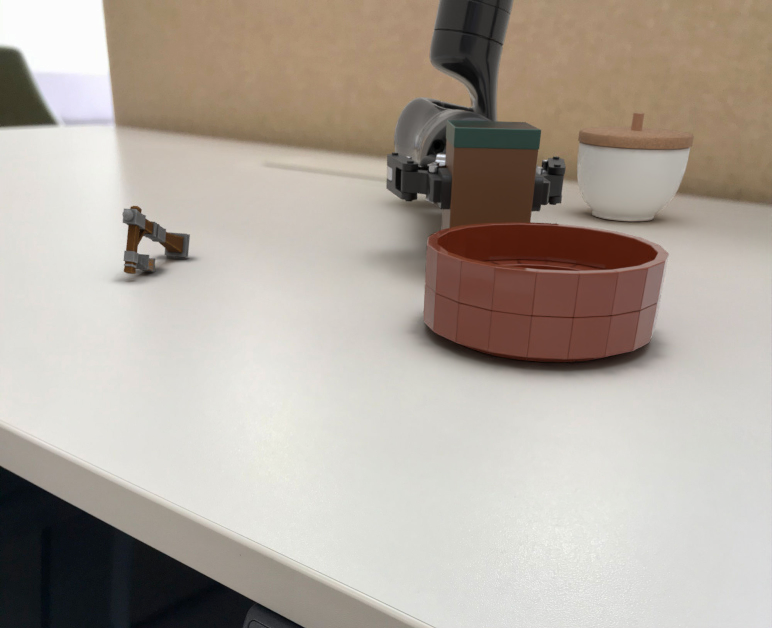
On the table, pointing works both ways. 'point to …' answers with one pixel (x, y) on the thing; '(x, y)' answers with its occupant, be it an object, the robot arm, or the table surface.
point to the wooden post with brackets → (141, 227)
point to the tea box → (490, 171)
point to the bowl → (543, 290)
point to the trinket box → (630, 169)
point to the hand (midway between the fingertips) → (492, 194)
